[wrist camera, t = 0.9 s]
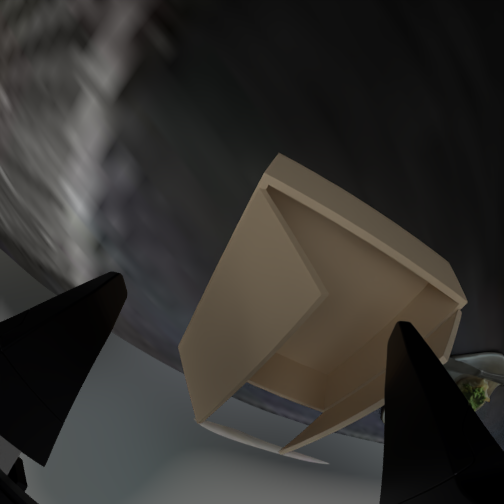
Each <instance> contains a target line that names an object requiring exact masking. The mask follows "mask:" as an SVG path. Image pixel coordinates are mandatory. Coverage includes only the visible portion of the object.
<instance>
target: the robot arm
mask: <svg viewBox="0 0 504 504" xmlns="http://www.w3.org/2000/svg"><path fill="white" fill-rule="evenodd" d="M126 298H127V289H126V286H125V282H124V279H123V276H122V274H120V273H117V272H108V273H106V274H104V275H102V276H99V277H97V278H95V279H93V280H90V281H88V282H86V283H84V284H82V285H79V286H77V287H75V288H73V289H71V290H68V291H66V292H64V293H62V294H60V295H58V296H56V297H53V298H51V299H49V300H47V301H45V302H43V303H41V304H39V305H36V306H34V307H32V308H30V310H29V309H28V310H26V311H24V312H22V313H20V314H18V315H16V316H13V317H11V318H9V319H7V320H4V321H2V322H0V504H38V503H37V502H36V501H34V500H33V499H32V498H31V497H29V495H27V494H26V493H25V490H26V488H27V482H26V477H25V472H24V467H23V461H22V459H21V458H20V457H18V456H19V455H20V453H21V452H23V453H24V454H26V455H27V456H28V457H30V458H31V459H33V460H34V461H35V462H37V463H39V464H40V465H42V466H43V467H44V466H45V465H46V463H47V460H48V458H49V456H50V453H51V451H52V449H53V446H54V444H55V442H56V439H57V437H58V435H59V433H60V430H61V428H62V426H63V423H64V422H65V419H66V417H67V415H68V413H69V411H70V409H71V407H72V405H73V403H74V401H75V399H76V397H77V395H78V393H79V391H80V389H81V387H82V385H83V383H84V381H85V379H86V377H87V375H88V373H89V371H90V369H91V367H92V366H93V364H94V362H95V360H96V358H97V356H98V355H99V353H100V351H101V349H102V347H103V346H104V344H105V342H106V340H107V338H108V337H109V335H110V333H111V331H112V329H113V327H114V324H115V322H116V320H117V318H118V316H119V313H120V311H121V309H122V307H123V305H124V303H125V301H126ZM384 403H385V426H384V457H383V473H382V486H381V495H380V504H504V451H503V450H502V449H501V447H500V446H499V445H498V443H497V442H496V441H495V439H494V438H493V437H492V435H491V434H490V433H489V431H488V430H487V428H486V427H485V426H484V424H483V423H482V421H481V420H480V418H479V417H478V415H477V414H476V412H475V411H474V409H473V408H472V406H471V405H470V404H469V402H468V400H467V399H466V397H465V396H464V394H463V393H462V391H461V390H460V388H459V387H458V386H457V384H456V383H455V381H454V380H453V378H452V377H451V375H450V374H449V373H448V371H447V370H446V368H445V367H444V366H443V364H442V363H441V362H440V360H439V359H438V357H437V356H436V355H435V353H434V352H433V351H432V349H431V348H430V347H429V345H428V344H427V343H426V341H425V340H424V339H423V337H422V336H421V335H420V334H419V332H418V331H417V330H416V328H415V327H414V326H413V325H412V323H411V322H408V321H398V322H397V323H396V324H395V326H394V329H393V331H392V333H391V335H390V337H389V340H388V344H387V360H386V375H385V388H384Z"/></svg>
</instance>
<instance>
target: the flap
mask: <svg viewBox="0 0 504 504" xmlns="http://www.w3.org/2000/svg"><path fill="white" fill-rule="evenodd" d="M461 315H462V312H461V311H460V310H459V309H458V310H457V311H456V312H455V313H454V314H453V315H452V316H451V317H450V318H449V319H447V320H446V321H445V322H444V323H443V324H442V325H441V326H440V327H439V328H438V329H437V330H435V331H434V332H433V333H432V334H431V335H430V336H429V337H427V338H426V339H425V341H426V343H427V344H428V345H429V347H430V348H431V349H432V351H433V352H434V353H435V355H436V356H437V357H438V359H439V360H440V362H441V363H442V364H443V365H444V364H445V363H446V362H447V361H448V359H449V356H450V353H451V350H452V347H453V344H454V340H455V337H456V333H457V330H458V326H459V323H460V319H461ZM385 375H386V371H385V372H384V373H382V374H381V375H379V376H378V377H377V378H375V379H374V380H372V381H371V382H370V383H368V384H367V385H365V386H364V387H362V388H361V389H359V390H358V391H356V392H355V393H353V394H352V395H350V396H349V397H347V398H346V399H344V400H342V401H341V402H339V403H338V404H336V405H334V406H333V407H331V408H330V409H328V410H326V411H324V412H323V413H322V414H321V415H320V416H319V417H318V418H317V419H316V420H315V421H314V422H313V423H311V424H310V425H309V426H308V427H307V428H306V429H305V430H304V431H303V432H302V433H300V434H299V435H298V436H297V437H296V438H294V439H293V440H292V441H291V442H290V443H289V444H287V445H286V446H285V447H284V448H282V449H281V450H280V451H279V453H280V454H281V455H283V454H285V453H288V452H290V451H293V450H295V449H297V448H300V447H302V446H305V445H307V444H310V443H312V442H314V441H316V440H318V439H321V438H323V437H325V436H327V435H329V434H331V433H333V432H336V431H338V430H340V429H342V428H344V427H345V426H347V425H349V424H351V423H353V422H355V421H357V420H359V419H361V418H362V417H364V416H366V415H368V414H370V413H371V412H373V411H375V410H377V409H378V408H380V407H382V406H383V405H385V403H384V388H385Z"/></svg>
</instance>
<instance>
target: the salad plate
mask: <svg viewBox="0 0 504 504" xmlns="http://www.w3.org/2000/svg"><path fill="white" fill-rule="evenodd" d="M443 366H444V367H445V368H446V370H447V371H448V373H449V374H450V375H451V377H452V378H453V380H454V381H455V383H456V384H457V386H458V387H459V388H460V390H461V391H462V393H463V394H464V396H465V397H466V399H467V400H468V402H469V404H470V405H471V406H472V408H473V409H474V411H475V412H476V411H477V410H479V409H480V408H481V407H482V406H483V405H484V404H485V402H486V401H487V402H490V398H489V397H490V395H491V393H492V392H493V391H494V389H495V388H496V387H497V386H498V385H503V386H504V356H503V354H501V353H496V352H482V353H475V354H465V355H450V356H449V359H448V361H447V362H446V363H445V364H444V365H443ZM381 420H382V421H383V423H384V424H385V405H383V408H382V411H381Z"/></svg>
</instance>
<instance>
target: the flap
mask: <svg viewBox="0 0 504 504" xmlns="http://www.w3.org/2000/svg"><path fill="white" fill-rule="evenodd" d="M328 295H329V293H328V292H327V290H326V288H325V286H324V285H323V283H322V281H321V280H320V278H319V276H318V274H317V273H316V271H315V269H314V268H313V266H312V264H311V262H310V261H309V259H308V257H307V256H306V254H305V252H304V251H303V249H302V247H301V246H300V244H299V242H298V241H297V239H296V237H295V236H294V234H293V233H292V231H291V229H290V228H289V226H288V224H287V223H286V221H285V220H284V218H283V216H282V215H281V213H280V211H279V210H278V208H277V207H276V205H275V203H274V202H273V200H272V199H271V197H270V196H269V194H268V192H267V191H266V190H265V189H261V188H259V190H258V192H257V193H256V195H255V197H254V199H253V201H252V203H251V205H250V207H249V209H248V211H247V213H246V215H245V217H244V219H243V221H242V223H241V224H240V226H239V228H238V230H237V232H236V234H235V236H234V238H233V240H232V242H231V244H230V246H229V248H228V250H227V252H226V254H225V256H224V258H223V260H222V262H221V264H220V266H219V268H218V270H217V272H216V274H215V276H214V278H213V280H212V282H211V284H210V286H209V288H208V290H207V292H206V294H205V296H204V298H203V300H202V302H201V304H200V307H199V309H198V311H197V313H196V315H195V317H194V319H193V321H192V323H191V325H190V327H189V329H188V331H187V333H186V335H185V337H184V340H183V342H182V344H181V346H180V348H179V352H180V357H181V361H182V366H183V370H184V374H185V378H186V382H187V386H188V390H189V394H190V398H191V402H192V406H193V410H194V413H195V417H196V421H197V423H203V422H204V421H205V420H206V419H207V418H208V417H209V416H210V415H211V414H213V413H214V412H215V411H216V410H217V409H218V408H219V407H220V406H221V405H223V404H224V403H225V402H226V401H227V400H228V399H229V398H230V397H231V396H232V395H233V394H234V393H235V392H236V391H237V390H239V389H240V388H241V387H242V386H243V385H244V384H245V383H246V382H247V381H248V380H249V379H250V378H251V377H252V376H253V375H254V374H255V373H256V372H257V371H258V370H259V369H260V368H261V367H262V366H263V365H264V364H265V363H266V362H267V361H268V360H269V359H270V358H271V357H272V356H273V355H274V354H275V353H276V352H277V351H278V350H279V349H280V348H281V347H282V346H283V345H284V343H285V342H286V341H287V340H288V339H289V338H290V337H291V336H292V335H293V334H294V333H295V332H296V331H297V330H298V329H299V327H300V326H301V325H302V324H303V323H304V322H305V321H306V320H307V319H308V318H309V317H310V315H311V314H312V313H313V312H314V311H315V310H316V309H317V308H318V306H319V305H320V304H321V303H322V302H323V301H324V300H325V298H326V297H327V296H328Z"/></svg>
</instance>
